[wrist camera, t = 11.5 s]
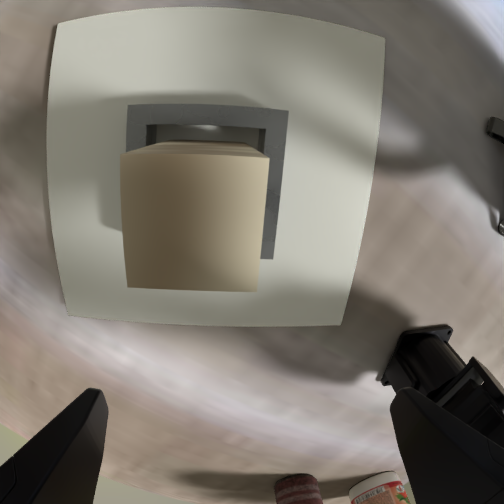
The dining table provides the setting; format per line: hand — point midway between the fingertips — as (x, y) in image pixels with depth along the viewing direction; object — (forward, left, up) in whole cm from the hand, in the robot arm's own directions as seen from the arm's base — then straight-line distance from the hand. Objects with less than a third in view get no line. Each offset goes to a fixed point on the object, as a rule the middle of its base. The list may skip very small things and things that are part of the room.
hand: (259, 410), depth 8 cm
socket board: (+2, -4, -13) cm, 14 cm away
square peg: (+2, -4, -12) cm, 13 cm away
